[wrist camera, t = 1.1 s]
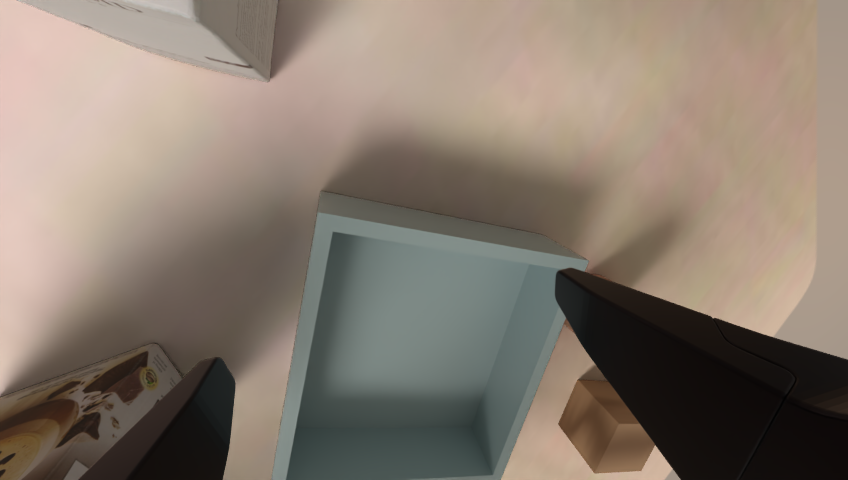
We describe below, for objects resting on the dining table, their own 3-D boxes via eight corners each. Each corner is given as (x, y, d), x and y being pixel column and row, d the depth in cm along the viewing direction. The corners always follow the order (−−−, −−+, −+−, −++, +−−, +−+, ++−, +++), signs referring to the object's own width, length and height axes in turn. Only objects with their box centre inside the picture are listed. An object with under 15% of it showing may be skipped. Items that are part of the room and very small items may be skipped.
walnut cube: (599, 423, 34) (641, 470, 30) (557, 423, 33) (594, 473, 28) (619, 381, 33) (666, 423, 28) (577, 379, 32) (618, 423, 27)
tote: (473, 427, 30) (499, 483, 26) (279, 427, 25) (268, 496, 21) (542, 234, 25) (588, 260, 21) (320, 190, 21) (318, 212, 16)
